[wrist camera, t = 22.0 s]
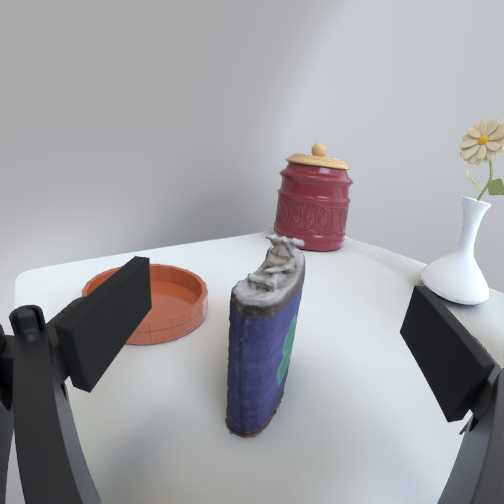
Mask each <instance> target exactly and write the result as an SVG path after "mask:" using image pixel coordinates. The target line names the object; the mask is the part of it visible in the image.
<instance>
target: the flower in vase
mask: <svg viewBox="0 0 504 504" xmlns="http://www.w3.org/2000/svg"><path fill="white" fill-rule="evenodd" d="M467 133H468V134H467V135H465V136H464V137H463V141H462V143H461V144H460V147H461V150H463V151H462V152H461V153H460V156H461V157H463V158H464V160H465V161H469V162H468V163H469V164H480V163H481V162H482V161H483V160H484V162H489V164H490V178H489V181H488V183H487V185H486V187H485V188H484V190H483V191H482V190H481V188H480V186H479V185H478V184H477V183H476V182H475V181H474V180H473V179H472V178H471V177H470V175H469V174H468V172H466V173H467V176H468V177H469V179H470V180H471V181H472V182H473V183H474V184H475V185H476V186H477V187H478V188H479V190H480V191H481V192H482V193H481V194H480V196H479V197H478V199H477V200H476V199H472V198H469V197H465V196H461V195H459V197H460V199H461V202H462V205H463V228H462V233H461V238H460V241H459V244H458V246H457V248H456V249H455V250H454V251H453V252H452V253H450V254H448V255H446V256H445V257H442V258H440V259H438V260H436V261H434V262H432V263H430V264H429V265H427V266H426V267H425V268H424V269H423V270H422V272H421V278H422V281H423V283H424V284H425V285H426V286H427V287H428V288H429V289H430V290H432V291H433V292H434V293H436V294H437V295H439V296H441V297H443V298H445V299H447V300H450V301H453V302H457V303H461V304H469V305H474V304H481V303H483V302H484V301H486V300H487V299H488V297H489V289H488V286H487V283H486V281H485V279H484V277H483V275H482V273H481V271H480V269H479V268H478V266H477V264H476V262H475V259H474V257H473V246H474V241H475V237H476V233H477V230H478V227H479V224H480V221H481V219H482V217H483V215H484V213H485V212H486V211H487V209H488V208H489V207H490V206H491V204H488V203H485V202H482V201H480V199H481V197H482V195H483V194H484V192H485V191H486V189H487V188H488V189H489V194H490V195H504V185H503V182H502V180H501V179H496V180H493V181H491V179H492V162H491V159H493V158H496V157H497V156H498V153H500V152H502V151H503V147H504V123H499V119H494V118H491V119H490V121H488V122H487V121H486V119H482V120H481V122H480V124H477V123H476V124H474V126H473V128H468V129H467Z"/></svg>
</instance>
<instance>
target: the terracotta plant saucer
mask: <svg viewBox="0 0 504 504" xmlns="http://www.w3.org/2000/svg"><path fill="white" fill-rule="evenodd" d="M120 268H121V267H118V268H114V269H110V270H107V271H105V272H103V273H101V274H98V275H96V276H95V277H94V278H92V279H91V280H90V281H88V282H87V284H86V285H85V287H84V289H83V290H82V296H87V295H89V294H90V293H91V292H92V291H93V290H94V289H96V288H97V287H98V286H99V285H100V284H102V283H103V282H104V281H105V280H107V279H108V278H109V277H110V276H111V275H113V274H114V273H115V272H116V271H118V270H119V269H120ZM150 284H151V300H152V308H151V310H150V311H149V312H148V314H147V315H146V316H145V318H144V319H143V320H142V322H141V323H140V324H139V326H138V327H137V328H136V330H135V331H134V332H133V334H132V335H131V336H130V338H129V339H128V340H127V342H126V343H125V344H134V345H149V344H158V343H164V342H168V341H172V340H175V339H178V338H180V337H183V336H185V335H187V334H189V333H190V332H192V331H193V330H195V329H196V328H197V327H198V326H199V325H200V324H201V323H202V322H203V320H204V318H205V316H206V311H207V302H208V301H207V300H208V291H207V286H206V283H205V282H204V281H203V280H202V279H201V278H200V277H199V276H198V275H196V274H194V273H192V272H190V271H188V270H185V269H182V268H178V267H175V266H169V265H161V264H150Z"/></svg>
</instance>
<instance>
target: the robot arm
mask: <svg viewBox="0 0 504 504" xmlns="http://www.w3.org/2000/svg"><path fill="white" fill-rule="evenodd" d="M151 308H152V300H151V284H150V263H149V258H146V257H138V256H135V257H134V258H133V259H131V260H130V261H129V262H127V263H126V264H125V265H124V266H122V267H121V268H120V269H119V270H118V271H116V272H115V273H114V274H113V275H111V276H110V277H109V278H108V279H107V280H105V281H104V282H103V283H102V284H100V285H99V286H98V287H97V288H96V289H94V290H93V291H92V292H91V293H90V294H89V295H87V296H82V297H80V298H78V299H76V300H74V301H72V302H71V303H70V304H69V305H68V306H67V307H66V308H64V309H63V310H62V311H61V313H60V312H59V313H58V314H57V315H56V316H55V317H54V318H52V319H51V320H50V321H49V322H48V323H47V324H46V323H45V320H44V316H43V312H42V309H41V308H40V307H39V306H36V305H25V306H21V307H19V308H17V309H15V310H14V311H12V312H11V314H10V316H9V319H10V322H11V326H12V329H13V332H14V335H15V336H12V335H5V334H4V331H3V328H2V325H1V324H0V504H5V495H6V481H7V470H8V462H9V454H10V447H11V441H12V435H13V430H14V433H15V444H16V452H17V460H18V467H19V473H20V479H21V485H22V489H23V494H24V499H25V503H26V504H102V503H101V500H100V498H99V496H98V493H97V491H96V488H95V486H94V483H93V480H92V478H91V475H90V472H89V469H88V466H87V463H86V460H85V457H84V454H83V451H82V448H81V444H80V441H79V438H78V434H77V430H76V427H75V423H74V419H73V415H72V410H71V406H70V402H69V397H68V392H67V387H66V385H65V382H64V381H65V380H66V379H67V377H68V376H70V378H71V381H72V384H73V387H76V388H78V389H81V390H84V391H86V392H89V393H90V392H91V391H92V389H93V388H94V386H95V385H96V384H97V382H98V381H99V379H100V378H101V377H102V375H103V374H104V372H105V371H106V369H107V368H108V367H109V365H110V364H111V362H112V361H113V360H114V358H115V357H116V356H117V354H118V353H119V351H120V350H121V349H122V347H123V346H124V345H125V343H126V342H127V340H128V339H129V338H130V336H131V335H132V334H133V332H134V331H135V330H136V328H137V327H138V326H139V324H140V323H141V322H142V320H143V319H144V318H145V316H146V315H147V314H148V312H149V311H150V310H151ZM400 334H401V335H402V337H403V339H404V341H405V342H406V344H407V346H408V348H409V349H410V351H411V353H412V355H413V356H414V358H415V360H416V362H417V364H418V365H419V367H420V369H421V371H422V373H423V374H424V376H425V378H426V380H427V382H428V384H429V386H430V388H431V390H432V391H433V393H434V395H435V397H436V399H437V401H438V403H439V405H440V407H441V409H442V411H443V413H444V415H445V417H446V419H447V421H448V422H453V421H458V420H462V419H463V418H464V416H465V415H466V413H467V412H468V410H469V409H470V410H471V411H472V413H473V415H472V417H471V418H470V419H469V421H468V422H467V424H466V425H465V426H464V428H463V429H462V430H461V432H460V435H462V433H463V432H464V431H465V435H464V438H463V441H462V444H461V447H460V450H459V453H458V456H457V458H456V461H455V464H454V466H453V469H452V471H451V474H450V476H449V479H448V481H447V483H446V486H445V488H444V490H443V492H442V495H441V497H440V499H439V501H438V503H437V504H504V368H503V369H501V368H500V366H499V365H498V364H497V363H496V361H495V360H494V359H493V358H492V356H491V355H490V354H489V353H487V350H486V349H485V348H484V347H483V346H482V344H481V343H480V342H479V341H478V340H477V339H476V338H475V337H473V336H472V335H471V334H470V333H469V332H468V331H467V330H466V328H465V327H464V326H463V325H462V324H461V323H460V322H459V321H458V319H457V318H456V317H455V316H454V315H453V314H452V313H451V312H450V311H449V310H448V308H447V307H446V306H445V305H444V304H443V303H442V302H441V301H440V300H439V299H438V298H437V297H436V296H435V295H434V294H433V293H432V291H431V290H430V289H429V288H428V287H425V286H414V290H413V293H412V296H411V300H410V303H409V306H408V309H407V312H406V315H405V318H404V321H403V324H402V327H401V330H400Z"/></svg>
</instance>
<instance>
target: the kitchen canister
mask: <svg viewBox="0 0 504 504" xmlns="http://www.w3.org/2000/svg"><path fill="white" fill-rule="evenodd" d="M326 152H327V150H326V147H325V146H324V145H323V144H315V145H314V146H313V147H312V154H313V156H312V155H305V154H294V155H293V156H291V157H289V158H287V159H286V161H288V162H289V163H288V165H287V167H286V168H285V169H283V170H282V171H280V175H281V176H282V183H281V188H280V189H279V190H278V204H277V214H276V221H275V223H274V226H275V227H274V232H275V234H276V235H277V236H278V237H282V236H286V238H290V239H293V238H296V239H298V240H301V239H302V240H303V241H304V246H303V247H300V246H298V245H296V246H295V247H296V248H301V249H306V250H314V251H331V250H336V249H339V248H340V247H341V246H342V243H343V241H344V236H345V226H346V219H347V213H348V205H349V203H350V199H349V197H348V194H349V187H350V185H351V184H353V181H352V180H351V179H350V178H349V177H348V175H347V171H346V169H347V170H349V169H350V168H349V167H348V166H347V165H346V164H345V163H344V162H343V160H340V159H334V158H328V157H325V155H326Z"/></svg>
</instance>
